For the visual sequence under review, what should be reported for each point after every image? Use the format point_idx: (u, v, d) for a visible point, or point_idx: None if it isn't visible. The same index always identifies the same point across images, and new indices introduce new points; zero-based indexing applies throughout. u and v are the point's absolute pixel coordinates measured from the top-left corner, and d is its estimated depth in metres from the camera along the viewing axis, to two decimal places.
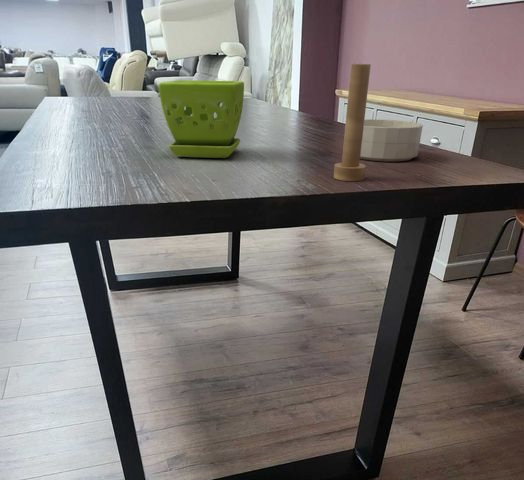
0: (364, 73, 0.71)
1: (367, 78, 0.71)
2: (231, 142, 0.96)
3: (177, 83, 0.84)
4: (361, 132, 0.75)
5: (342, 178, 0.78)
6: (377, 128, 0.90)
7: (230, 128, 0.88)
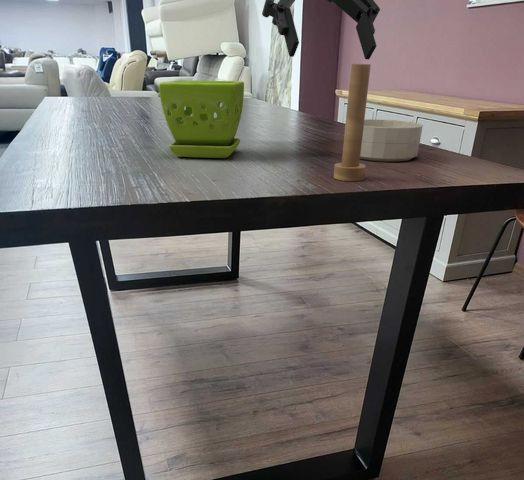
0: (364, 73, 0.71)
1: (367, 78, 0.71)
2: (231, 142, 0.96)
3: (177, 83, 0.84)
4: (361, 132, 0.75)
5: (342, 178, 0.78)
6: (377, 128, 0.90)
7: (230, 128, 0.88)
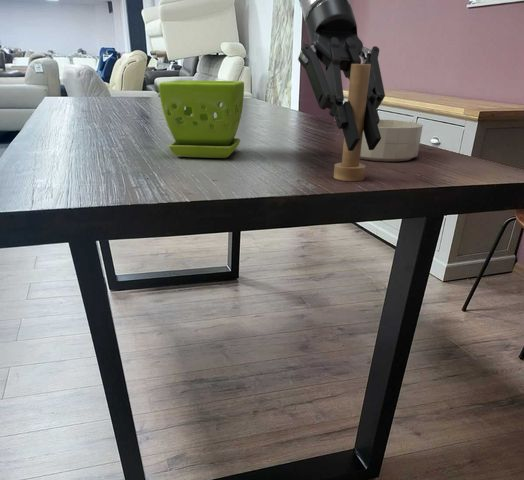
0: (364, 73, 0.71)
1: (367, 78, 0.71)
2: (231, 142, 0.96)
3: (177, 83, 0.84)
4: (361, 132, 0.75)
5: (342, 178, 0.78)
6: None
7: (230, 128, 0.88)
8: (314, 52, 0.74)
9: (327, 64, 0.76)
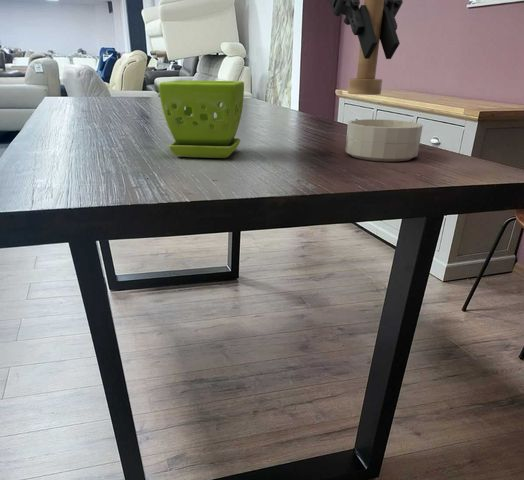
0: None
1: None
2: (231, 142, 0.96)
3: (177, 83, 0.84)
4: (378, 40, 0.71)
5: (357, 91, 0.74)
6: (377, 128, 0.90)
7: (230, 128, 0.88)
8: None
9: None
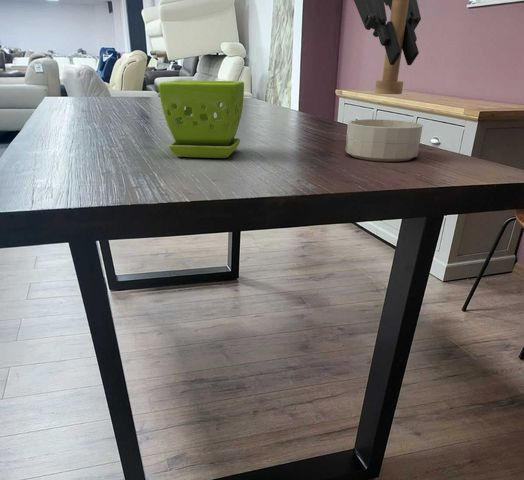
0: None
1: (407, 0, 0.84)
2: (231, 142, 0.96)
3: (177, 83, 0.84)
4: None
5: (383, 91, 0.90)
6: (377, 128, 0.90)
7: (230, 128, 0.88)
8: None
9: None
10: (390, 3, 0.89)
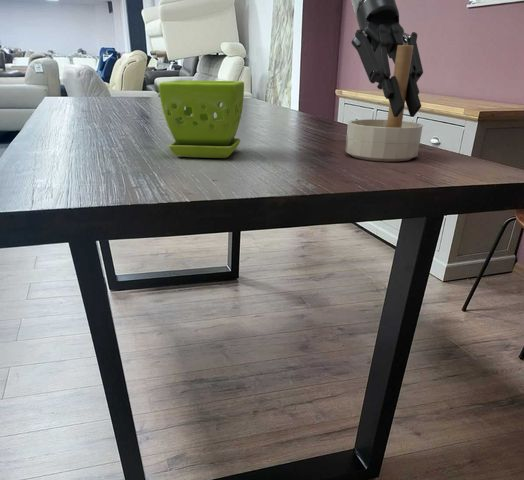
0: (409, 52, 0.87)
1: (410, 57, 0.88)
2: (231, 142, 0.96)
3: (177, 83, 0.84)
4: (404, 102, 0.92)
5: None
6: (377, 128, 0.90)
7: (230, 128, 0.88)
8: (365, 36, 0.91)
9: (375, 46, 0.93)
10: (393, 56, 0.94)
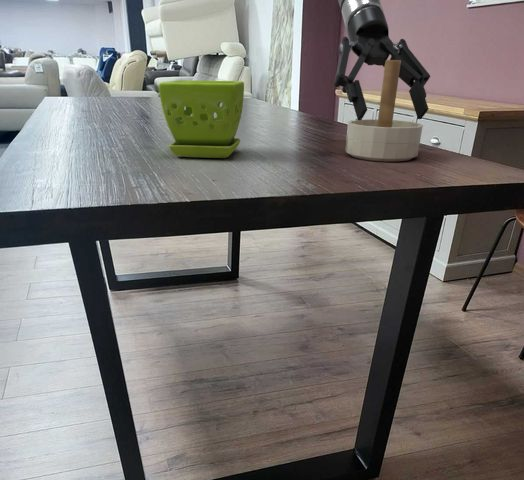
0: (396, 67, 0.89)
1: (398, 71, 0.90)
2: (231, 142, 0.96)
3: (177, 83, 0.84)
4: (392, 115, 0.94)
5: None
6: (377, 128, 0.90)
7: (230, 128, 0.88)
8: (349, 45, 0.93)
9: (365, 60, 0.95)
10: None
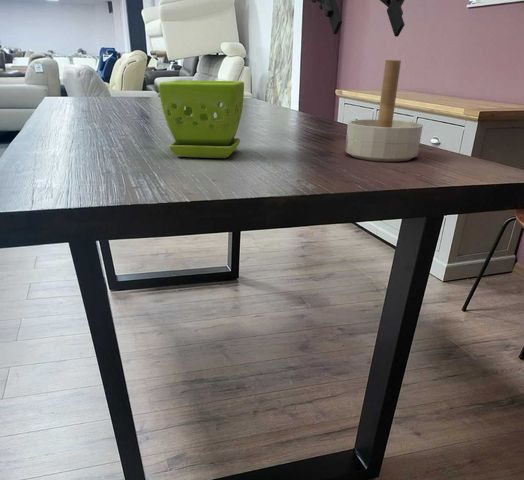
0: (396, 67, 0.89)
1: (398, 71, 0.90)
2: (231, 142, 0.96)
3: (177, 83, 0.84)
4: (392, 115, 0.94)
5: None
6: (377, 128, 0.90)
7: (230, 128, 0.88)
8: None
9: None
10: None
